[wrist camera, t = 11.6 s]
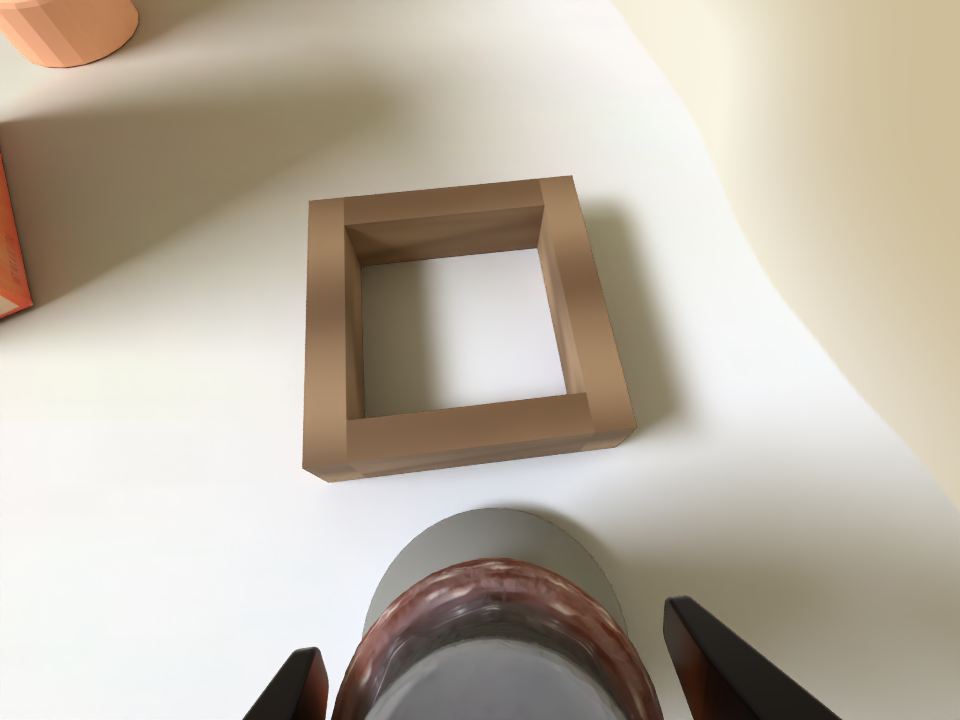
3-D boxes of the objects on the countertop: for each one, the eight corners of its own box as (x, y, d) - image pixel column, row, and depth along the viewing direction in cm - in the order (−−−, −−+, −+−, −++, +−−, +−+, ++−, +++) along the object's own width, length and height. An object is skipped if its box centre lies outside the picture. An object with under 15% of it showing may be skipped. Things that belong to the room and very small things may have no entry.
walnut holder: (615, 447, 20) (637, 427, 17) (328, 482, 19) (302, 468, 16) (561, 220, 24) (571, 175, 21) (329, 243, 24) (308, 200, 21)
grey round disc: (534, 887, 14) (536, 904, 14) (311, 681, 16) (303, 686, 16) (668, 609, 17) (677, 611, 16) (465, 464, 19) (464, 460, 19)
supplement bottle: (564, 546, 17) (682, 525, 7) (604, 749, 15) (874, 1192, 4) (398, 571, 17) (253, 591, 7) (412, 782, 15) (226, 1329, 4)
